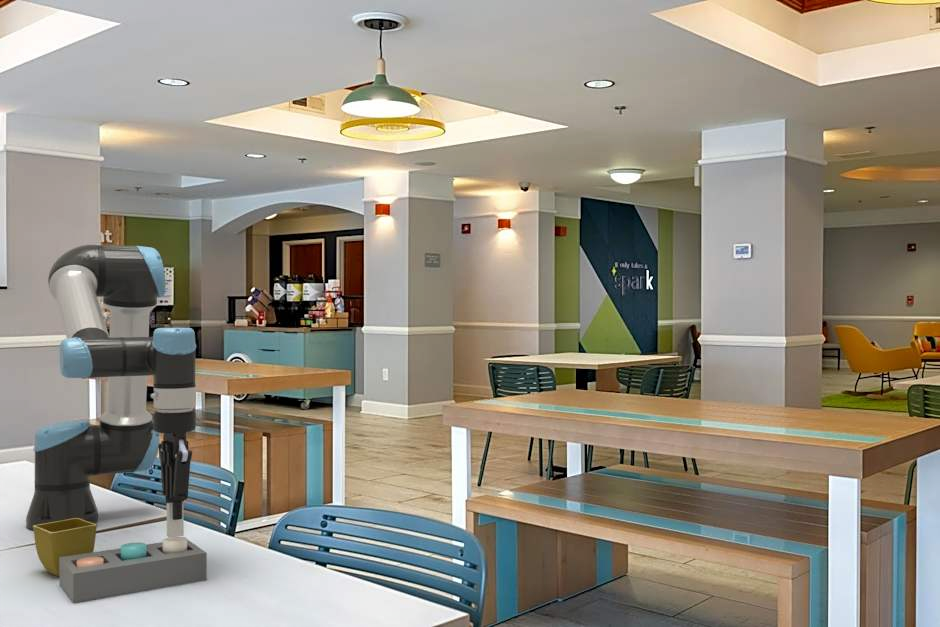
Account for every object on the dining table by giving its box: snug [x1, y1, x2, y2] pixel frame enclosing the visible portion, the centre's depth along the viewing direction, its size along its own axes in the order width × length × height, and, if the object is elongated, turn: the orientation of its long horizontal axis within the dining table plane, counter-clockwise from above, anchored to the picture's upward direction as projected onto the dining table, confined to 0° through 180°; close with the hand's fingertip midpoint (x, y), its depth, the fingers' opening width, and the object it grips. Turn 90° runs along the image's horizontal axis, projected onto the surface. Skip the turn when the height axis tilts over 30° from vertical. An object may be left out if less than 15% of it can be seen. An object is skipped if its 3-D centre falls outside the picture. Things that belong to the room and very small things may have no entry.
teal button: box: [120, 542, 147, 561], centre depth 166 cm, size 4×4×3 cm
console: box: [58, 538, 208, 604], centre depth 166 cm, size 12×23×5 cm, turn 125°
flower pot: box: [32, 518, 98, 577], centre depth 173 cm, size 9×9×9 cm
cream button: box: [162, 536, 188, 554], centre depth 170 cm, size 4×4×3 cm
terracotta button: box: [77, 557, 104, 568], centre depth 162 cm, size 4×4×3 cm
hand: (175, 535), depth 170 cm, fingers closed
